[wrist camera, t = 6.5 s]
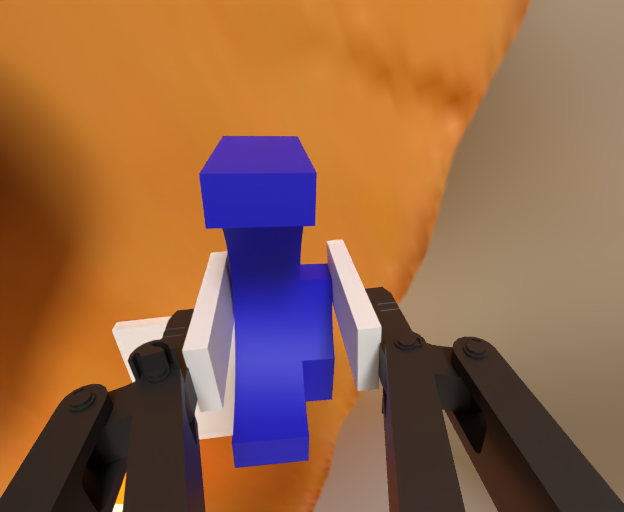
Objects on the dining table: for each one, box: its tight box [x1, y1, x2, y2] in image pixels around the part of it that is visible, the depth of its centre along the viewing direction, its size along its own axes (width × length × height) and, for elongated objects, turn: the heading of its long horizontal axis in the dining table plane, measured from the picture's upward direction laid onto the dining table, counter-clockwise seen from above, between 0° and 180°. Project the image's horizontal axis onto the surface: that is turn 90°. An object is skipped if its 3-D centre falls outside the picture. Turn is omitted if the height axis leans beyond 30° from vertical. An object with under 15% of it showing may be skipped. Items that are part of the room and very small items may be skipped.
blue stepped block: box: [199, 136, 335, 468], centre depth 15 cm, size 12×4×6 cm, turn 179°
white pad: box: [112, 316, 235, 440], centre depth 37 cm, size 16×16×1 cm
